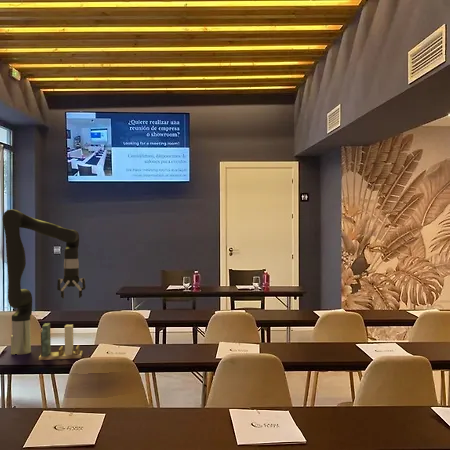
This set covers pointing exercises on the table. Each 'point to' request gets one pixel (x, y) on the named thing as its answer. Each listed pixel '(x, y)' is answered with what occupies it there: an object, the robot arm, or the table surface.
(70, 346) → the cream book
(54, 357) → the book rack
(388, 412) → the table surface
